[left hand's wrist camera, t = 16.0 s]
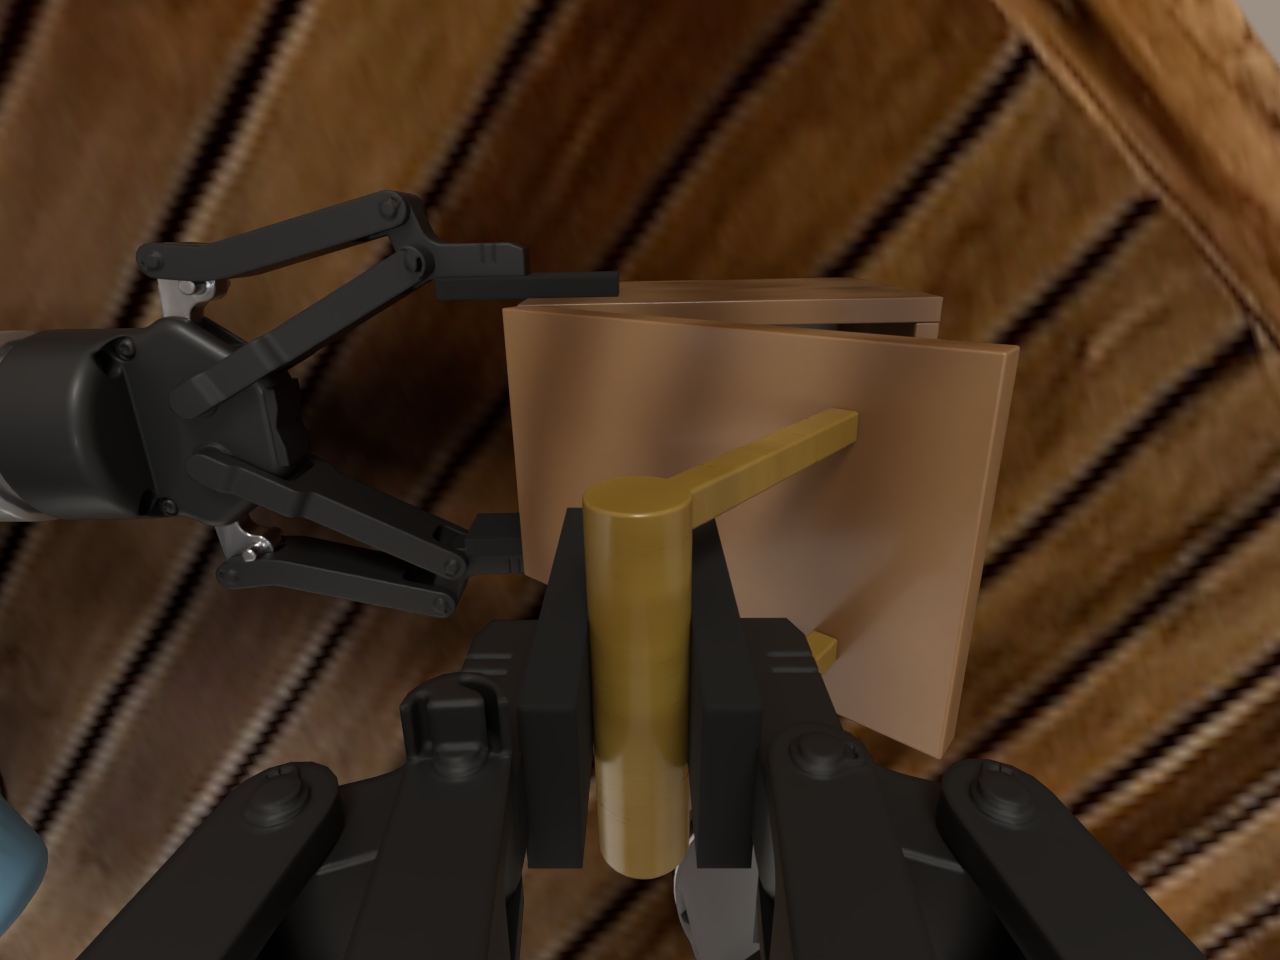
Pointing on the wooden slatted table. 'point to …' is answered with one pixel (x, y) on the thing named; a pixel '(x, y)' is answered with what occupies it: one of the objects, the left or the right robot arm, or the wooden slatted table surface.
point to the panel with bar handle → (755, 520)
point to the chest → (775, 304)
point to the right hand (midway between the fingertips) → (622, 414)
